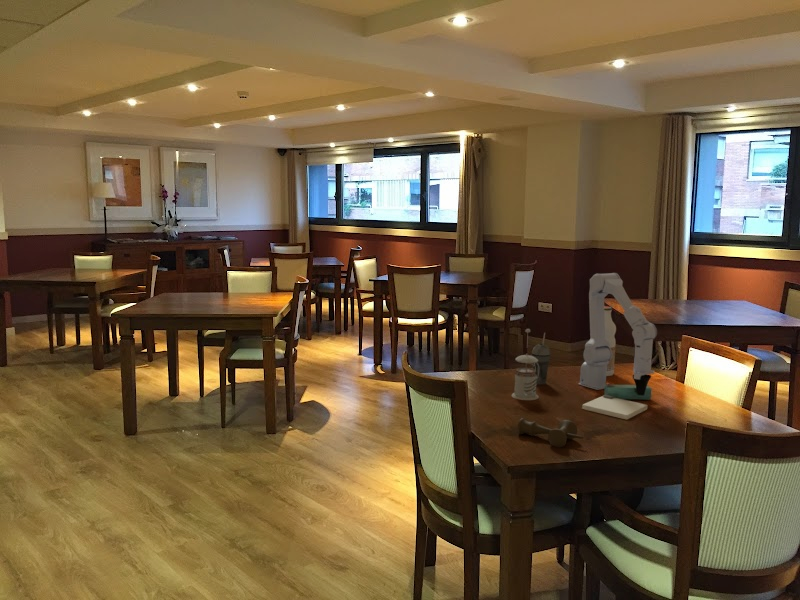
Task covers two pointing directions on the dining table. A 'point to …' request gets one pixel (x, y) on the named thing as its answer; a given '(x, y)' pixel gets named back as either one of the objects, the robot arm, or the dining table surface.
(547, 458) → the dining table surface
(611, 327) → the fruit juice
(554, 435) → the kendama
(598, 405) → the stool seat
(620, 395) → the dark green rectangular beam
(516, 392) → the french press
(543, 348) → the beverage cup
